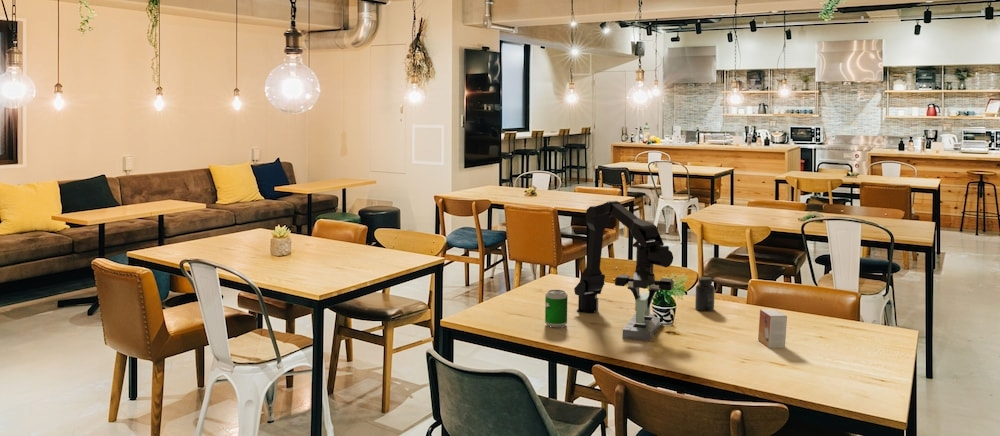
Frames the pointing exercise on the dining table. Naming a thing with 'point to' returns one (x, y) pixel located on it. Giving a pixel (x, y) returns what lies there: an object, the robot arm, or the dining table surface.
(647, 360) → the dining table surface
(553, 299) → the soda can
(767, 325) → the small box
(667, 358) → the dining table surface
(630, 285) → the robot arm
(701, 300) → the supplement bottle
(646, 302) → the staple
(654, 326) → the rail
